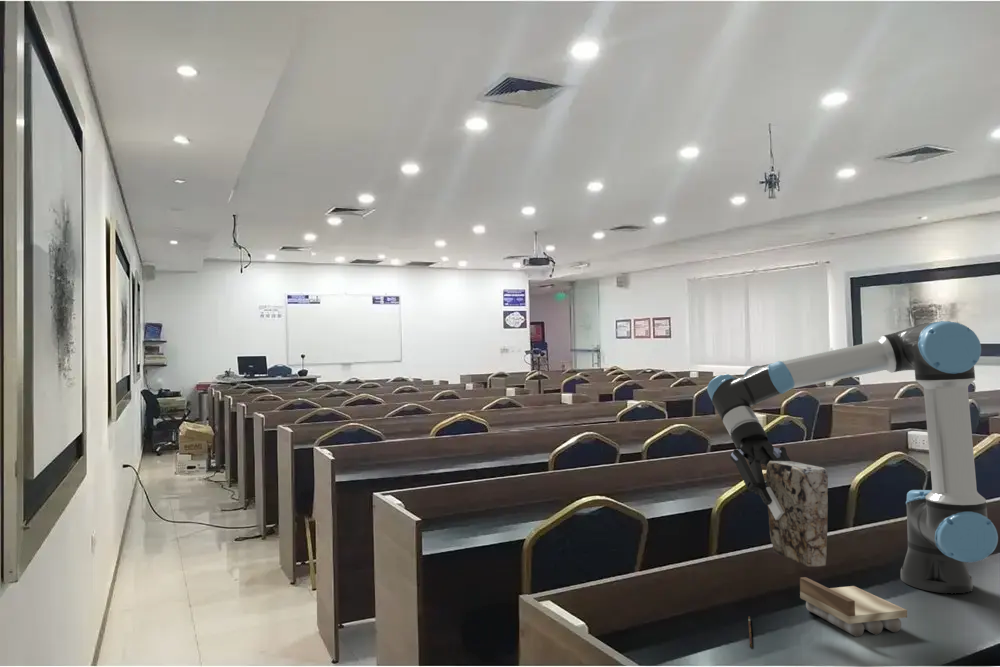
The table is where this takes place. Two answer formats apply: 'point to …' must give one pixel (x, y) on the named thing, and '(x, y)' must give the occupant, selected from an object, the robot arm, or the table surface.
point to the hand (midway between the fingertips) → (792, 515)
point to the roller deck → (851, 608)
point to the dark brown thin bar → (750, 631)
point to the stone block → (799, 511)
